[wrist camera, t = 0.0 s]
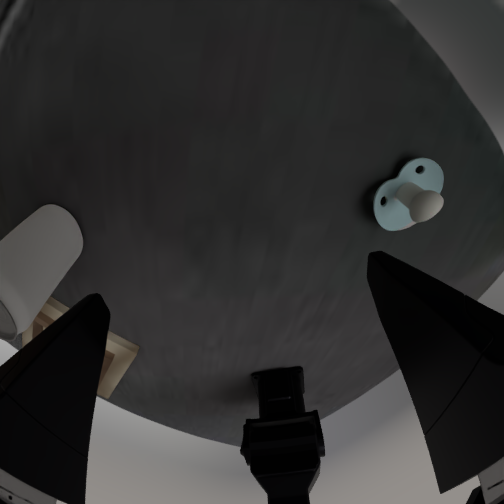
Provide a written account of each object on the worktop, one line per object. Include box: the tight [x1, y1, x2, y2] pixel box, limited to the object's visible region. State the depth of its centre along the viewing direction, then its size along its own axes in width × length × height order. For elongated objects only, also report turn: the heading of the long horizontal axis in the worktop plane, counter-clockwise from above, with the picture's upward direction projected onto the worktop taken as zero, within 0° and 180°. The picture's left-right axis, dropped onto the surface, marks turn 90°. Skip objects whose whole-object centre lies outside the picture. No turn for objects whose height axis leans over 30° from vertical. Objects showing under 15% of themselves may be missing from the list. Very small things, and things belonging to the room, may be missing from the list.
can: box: [0, 204, 83, 341], centre depth 19 cm, size 6×6×12 cm
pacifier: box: [373, 158, 444, 231], centre depth 20 cm, size 7×6×6 cm
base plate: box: [22, 296, 139, 399], centre depth 32 cm, size 16×16×2 cm
